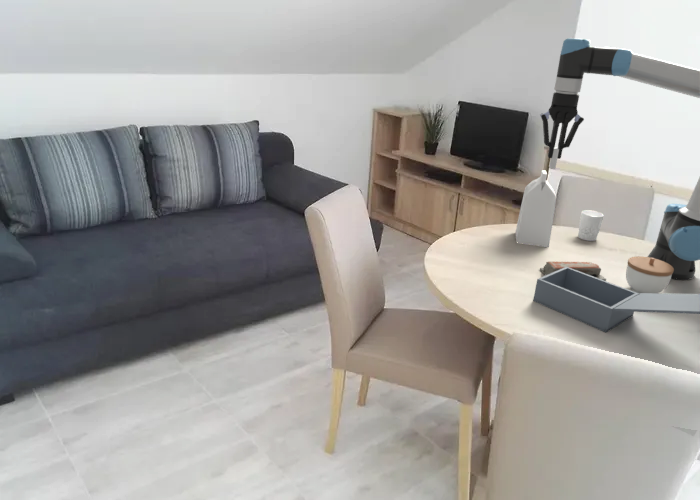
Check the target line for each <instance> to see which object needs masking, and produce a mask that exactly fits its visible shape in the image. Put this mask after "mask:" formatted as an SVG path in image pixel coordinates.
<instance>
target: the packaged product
mask: <svg viewBox="0 0 700 500" xmlns="http://www.w3.org/2000/svg"><path fill="white" fill-rule="evenodd" d="M564 267H569V268H572V269H574V270H577V271H580V272H582V273H585V274H588V275H590V276H593V277H596V278H599V279H601V280H604V281H607V278H606V277H605V276H602V275H601V272H602V268H601V267H600V265H598V264H597V263H593V262H590V261H556V260H555V261H546V263H545V264H544V266H543V267H540V268H539V271H540V272H541V273H542V274H544V276H546V275H548V274H550V273H553V272H555V271H557V270H560V269H562V268H564Z"/></svg>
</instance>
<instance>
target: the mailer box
mask: <svg viewBox="0 0 700 500" xmlns="http://www.w3.org/2000/svg"><path fill="white" fill-rule="evenodd" d="M534 290H535V291H534V294H533V299H532V301H533V302H535V303H537V304H539V305H542V306H543V307H547V308H548V309H551V310H553V311H555V312H558V313H561V315H565V316H567V317H570V318H572V319H574V320H576V321H578V322H581V323H583V324H585V325H587V326H590V327H592V328H595V329H597V330H599V331H601V332H603V333H608V332H609V331H610V330H613V329H614V328H616V327H617V326H619V325H620V324H622V323H623V322H625V321H627V320H629V319H631V318H632V317H633V316H634V314H635V312H631V311H614V308H616V307H617V306H619V305H621V304H623V303H624V302H626V301H628V300H630V299H632V298H633V297H635V296H637V295H639V293H636V292H634V291H632V290H631V289H628V288H625V287H622V286H620V285H618V284H617V285H616V284H614V283H612V282H609V281H607V280H606V281H604V280H601V279H599V278H596V277H593V276H590V275H588V274H585V273H582V272H580V271H577V270H574V269H572V268H569V267H564V268H562V269H560V270H557V271H555V272H553V273H550V274H548V275H543V276H541V277H539V278H537V280H536V284H535V289H534Z"/></svg>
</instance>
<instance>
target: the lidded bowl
mask: <svg viewBox="0 0 700 500" xmlns="http://www.w3.org/2000/svg"><path fill="white" fill-rule="evenodd" d="M673 271H674V268H673V267H672V266H671V265H670V264H668V263H666V262H664V261H661V260H658V259H655V258H650V257H648V256H643V255H642V256H639V255H638V256H636V255H635V256H631V257H629V258H628V260H627V266H626V271H625V279H626V281H627V284H628V286H629V288H630V290H631V291H634V292H636V293H639V294H640V293H662V292H663V291H664V290H665V289H666V288H667V287H668V286H669V283H670V281H671V280H672V279H671V276H672V274H673Z"/></svg>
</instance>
